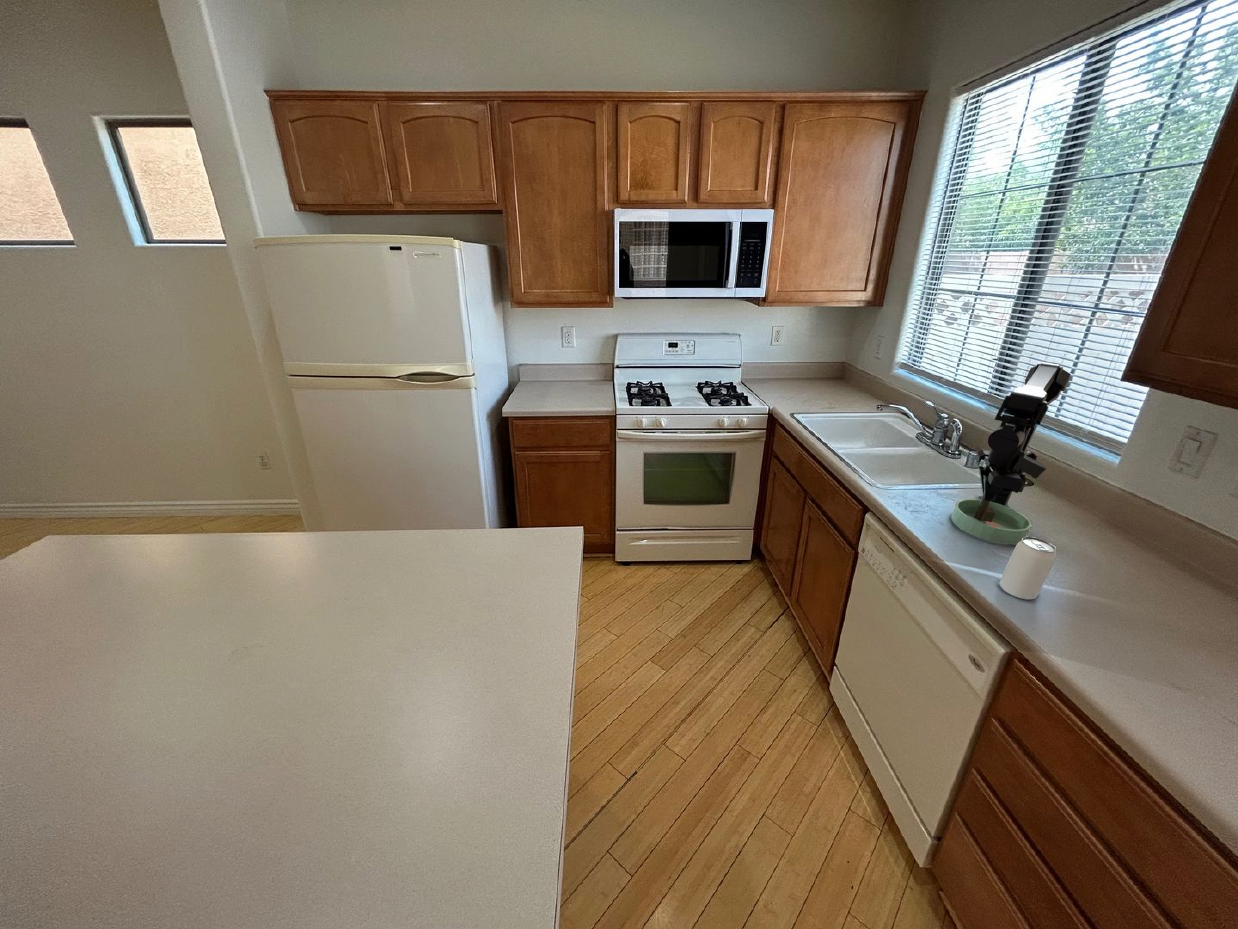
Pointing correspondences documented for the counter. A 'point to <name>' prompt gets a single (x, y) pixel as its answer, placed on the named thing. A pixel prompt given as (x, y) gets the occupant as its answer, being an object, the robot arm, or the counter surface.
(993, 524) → the terracotta block
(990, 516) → the walnut block
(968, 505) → the bowl
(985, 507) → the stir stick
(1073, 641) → the counter surface
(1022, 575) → the can
